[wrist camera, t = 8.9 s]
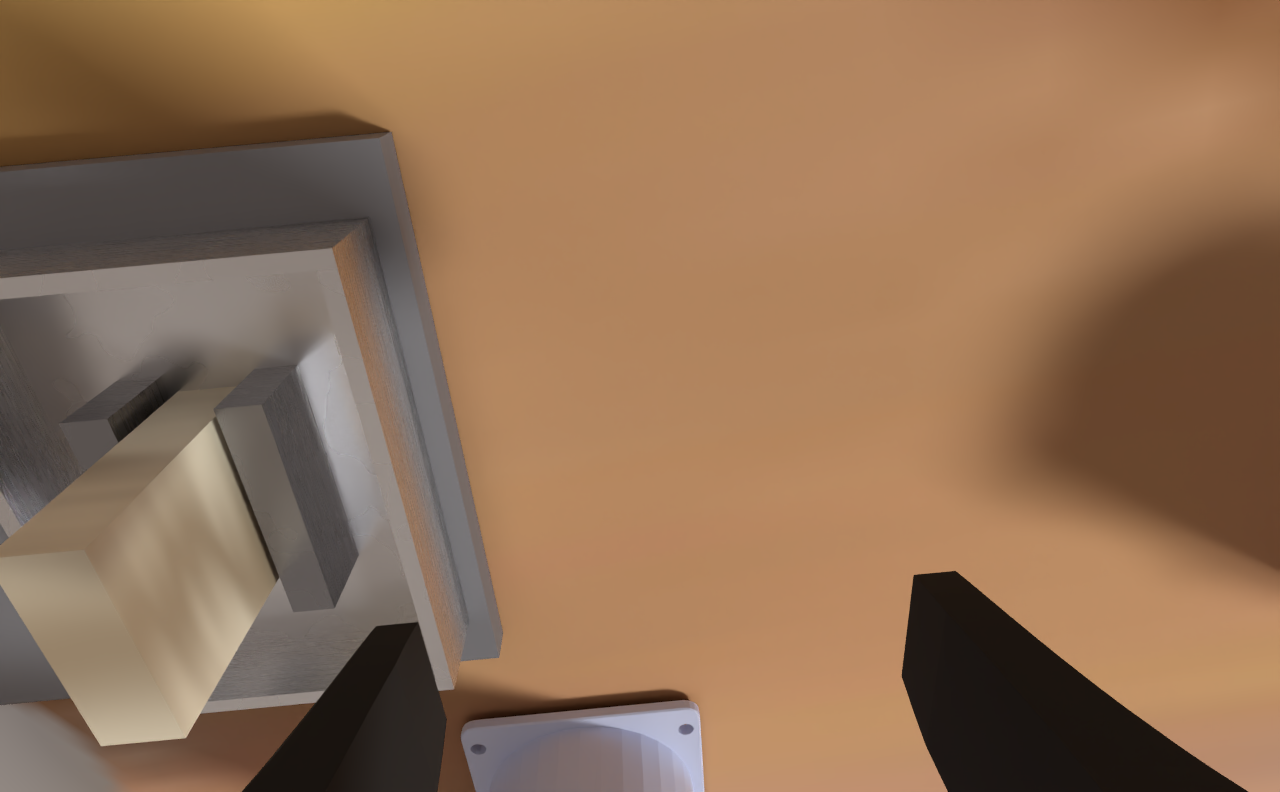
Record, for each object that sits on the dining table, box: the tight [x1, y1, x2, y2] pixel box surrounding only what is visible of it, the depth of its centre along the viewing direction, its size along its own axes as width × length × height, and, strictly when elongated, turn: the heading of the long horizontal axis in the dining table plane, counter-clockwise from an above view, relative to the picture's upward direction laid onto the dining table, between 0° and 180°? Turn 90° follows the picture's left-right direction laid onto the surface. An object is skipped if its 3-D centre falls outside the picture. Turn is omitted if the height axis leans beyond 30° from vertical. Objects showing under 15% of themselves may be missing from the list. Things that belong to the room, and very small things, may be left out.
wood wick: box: [0, 386, 279, 746], centre depth 15 cm, size 4×2×6 cm, turn 5°
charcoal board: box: [0, 132, 503, 705], centre depth 19 cm, size 15×20×1 cm
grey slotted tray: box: [0, 217, 469, 714], centre depth 17 cm, size 12×9×2 cm
